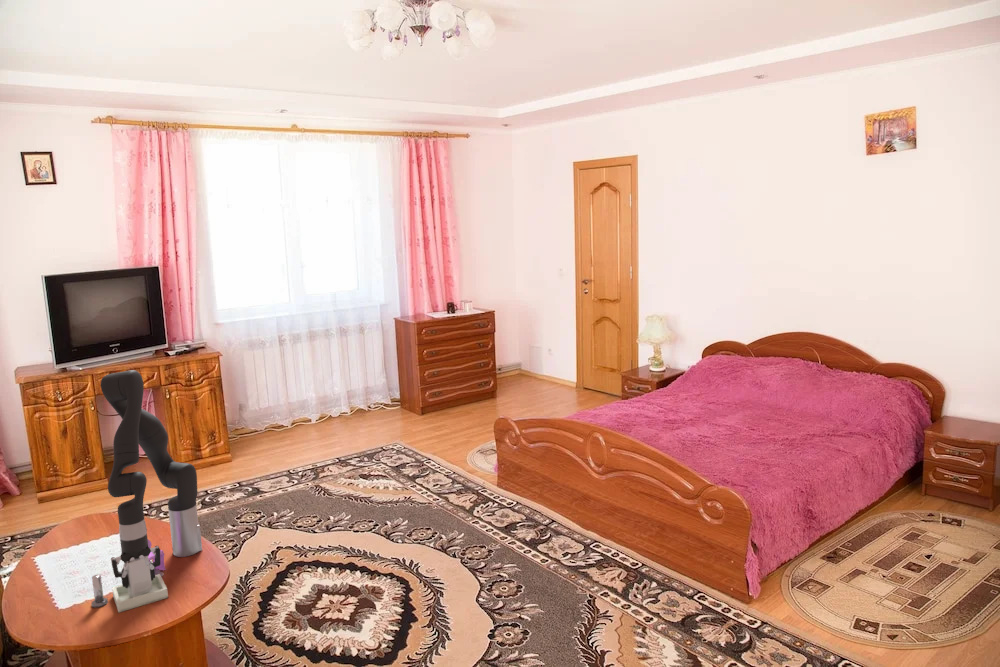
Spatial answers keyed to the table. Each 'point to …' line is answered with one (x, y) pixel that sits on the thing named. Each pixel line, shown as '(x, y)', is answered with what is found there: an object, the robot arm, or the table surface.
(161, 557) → the toy chair
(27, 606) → the table surface
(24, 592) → the table surface
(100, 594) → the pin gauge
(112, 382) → the robot arm
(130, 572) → the skincare box
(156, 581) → the tray
